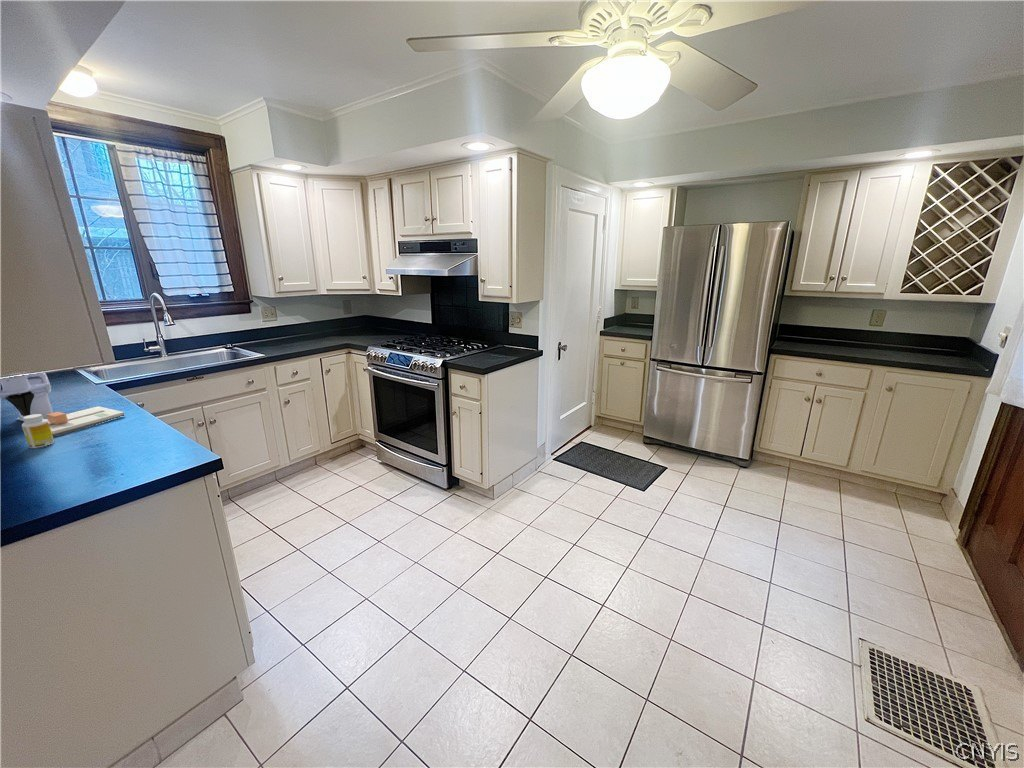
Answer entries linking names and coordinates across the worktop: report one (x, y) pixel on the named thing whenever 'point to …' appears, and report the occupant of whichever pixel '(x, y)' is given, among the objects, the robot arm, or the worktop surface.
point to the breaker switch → (57, 418)
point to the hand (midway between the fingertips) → (26, 415)
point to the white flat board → (84, 419)
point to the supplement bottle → (37, 431)
